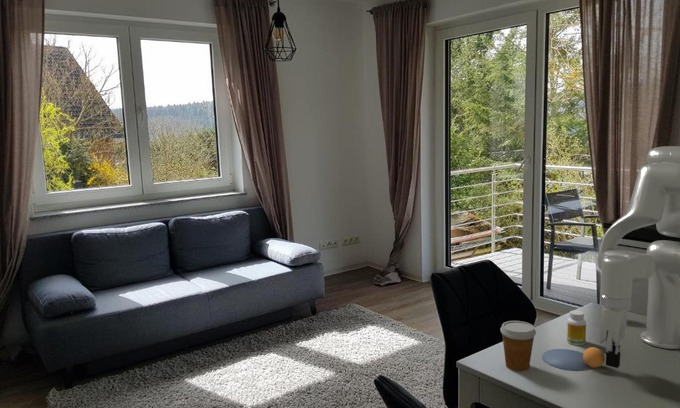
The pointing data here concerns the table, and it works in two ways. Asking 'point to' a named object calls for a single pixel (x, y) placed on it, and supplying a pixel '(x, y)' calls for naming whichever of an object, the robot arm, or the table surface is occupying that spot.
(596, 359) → the ball
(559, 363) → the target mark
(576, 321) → the supplement bottle
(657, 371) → the table surface
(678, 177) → the robot arm
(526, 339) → the disposable coffee cup
